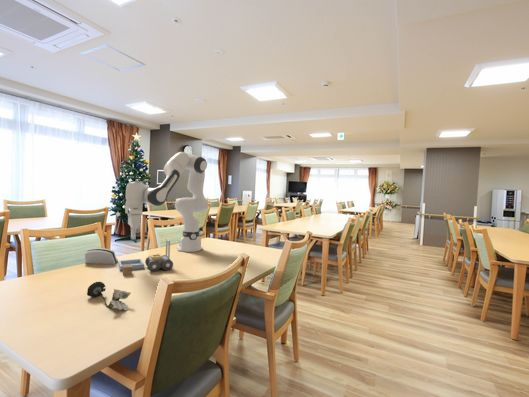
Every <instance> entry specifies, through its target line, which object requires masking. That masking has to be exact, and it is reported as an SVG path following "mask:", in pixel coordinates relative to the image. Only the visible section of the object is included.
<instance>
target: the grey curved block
mask: <svg viewBox="0 0 529 397" xmlns="http://www.w3.org/2000/svg"><path fill="white" fill-rule="evenodd" d="M115 252H116V251H114V250H112V249H109V248H104V247H103V248H102V247H99V248H98V247H97V248H96V247H95V248H91V249H88V250H87V251H86V252H85V253H84V261H85V264H105V265H115V264H116V263H118V262H119V260H118V258H117V255H116V253H115Z"/></svg>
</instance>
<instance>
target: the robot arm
mask: <svg viewBox="0 0 529 397" xmlns="http://www.w3.org/2000/svg"><path fill="white" fill-rule="evenodd" d="M207 166H208V162H207V160H206V158H204V157H202V156H198V155H196V154H191V153H186V152H185V151H178V152H177V153H175V154H174V155H173V156H172V157H171V158H170V159H169V160H168V161H167V162H166V163H165V165H164V167H163V172H164V175H165V176H166V178H165V179H164V180H163V181H162V183H161V184H160V185H159V186H157V187H150V186H148V185H146V184H144V183H143V182H142V181H141V180H140V181H138V180H137V181H129V182H128V183H126V184H127V185H126V188H125V201H126V202H125V205H124V207H125V209H124V213H125V214H127V224H128V225H129V227H130V228H131V227H132V235H136V233H137V229H140V227H141V220H142V215H143V204H147V205H153V206H157V207H160V206H162V205H163V204H165V203H166V201H167V198H168V196H169V194H170V192H171V191H172V189H173V187H175V185H176V184H177V183H178V181H179V179H180V177H181V175H182V174H183V173H184V171H185V170H186V171H189V175H188V181H187V187H186V188H187V191H189V193H191V194H192V197H187V196H186V197H180V198H179V197H178V198H177V199H176V200H175V202H174V208H175V210H176V211H177V212H178V213H179V214H180V215H181V217H182V221H183V230H182V236H181V238H180V239H179V240H177V245H176V249H177V251H178V252H186V253H187V252H188V253H189V252H190V253H193V252H194V253H195V252H200V251H201V250H203V249H204V247H203V246H202V238H201V237H200V235H201V234H200V220H199V219H198V218H196V217H195V216H194V213H202V212H207V211H208V209H209V207H210V206H209V205H210V204H209V201H208V199H207V198H206V197H205V195H204V184H205V177H206V169H207V168H208V167H207Z"/></svg>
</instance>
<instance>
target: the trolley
mask: <svg viewBox="0 0 529 397" xmlns="http://www.w3.org/2000/svg"><path fill="white" fill-rule="evenodd" d="M170 253H171V240H170V239H168V238H165V254H160V253H157V254H156V253H154V254H150V256H148V257H146V259H145V262H144V263H145V266H147V269H148V271H150V273H151V272H152V273H156V272H158V271H160V268H162V270H163V271H170V270H171V269H172V268H173V267H174V262H173V261H172V260H171V256H170V255H171V254H170Z"/></svg>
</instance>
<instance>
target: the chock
mask: <svg viewBox="0 0 529 397" xmlns="http://www.w3.org/2000/svg"><path fill="white" fill-rule="evenodd" d="M121 272H122V276H124V277H125V276H133V270H132V265H131V264H124V265H123V271H121Z"/></svg>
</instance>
